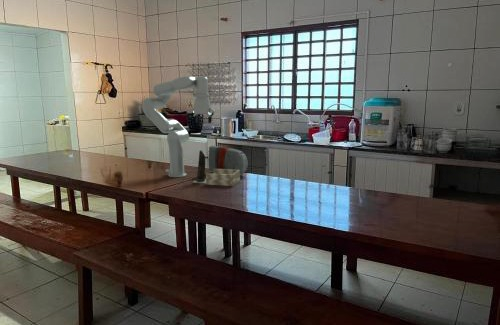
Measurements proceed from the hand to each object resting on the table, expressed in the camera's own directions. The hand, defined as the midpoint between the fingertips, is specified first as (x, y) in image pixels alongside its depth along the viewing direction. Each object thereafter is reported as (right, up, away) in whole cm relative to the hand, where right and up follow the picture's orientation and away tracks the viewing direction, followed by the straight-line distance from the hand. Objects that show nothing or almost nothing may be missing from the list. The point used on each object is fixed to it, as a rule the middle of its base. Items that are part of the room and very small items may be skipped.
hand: (202, 122), depth 237 cm
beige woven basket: (+14, -39, -5) cm, 42 cm away
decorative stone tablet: (+16, -35, +17) cm, 42 cm away
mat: (-1, -39, -2) cm, 39 cm away
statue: (-1, -38, -2) cm, 38 cm away
